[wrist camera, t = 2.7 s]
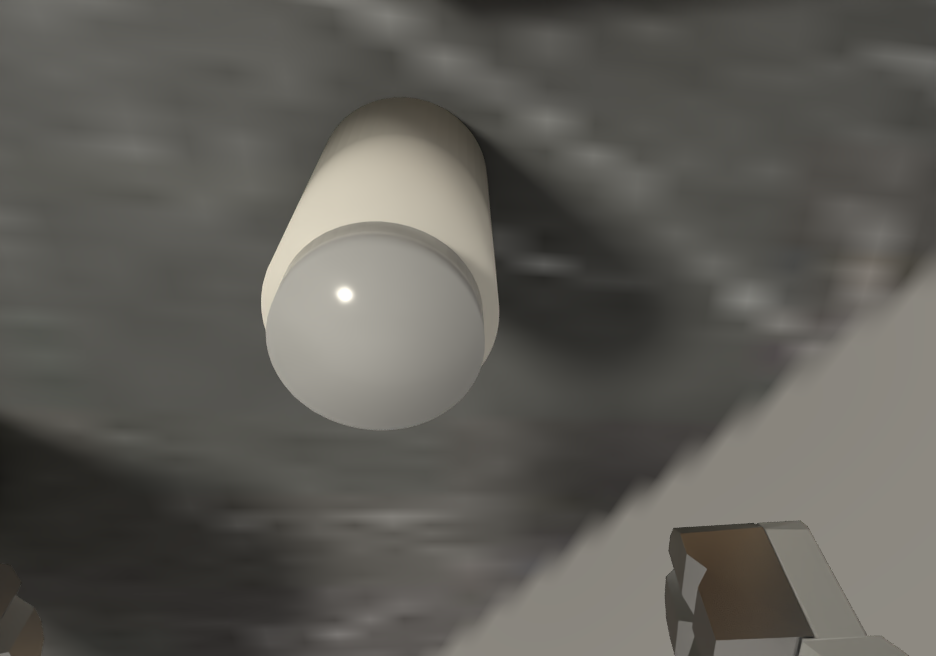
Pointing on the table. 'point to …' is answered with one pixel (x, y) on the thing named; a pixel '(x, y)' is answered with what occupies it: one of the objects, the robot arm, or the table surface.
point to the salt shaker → (386, 271)
